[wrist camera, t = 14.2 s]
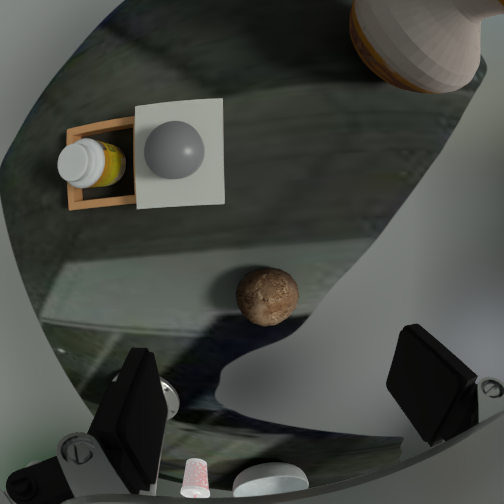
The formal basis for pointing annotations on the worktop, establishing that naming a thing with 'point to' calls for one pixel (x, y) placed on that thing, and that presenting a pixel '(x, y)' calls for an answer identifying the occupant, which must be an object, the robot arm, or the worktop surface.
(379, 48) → the jug
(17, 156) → the worktop surface
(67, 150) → the supplement bottle
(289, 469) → the cereal bowl
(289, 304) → the mushroom
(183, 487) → the beverage cup
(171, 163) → the open box with knob
